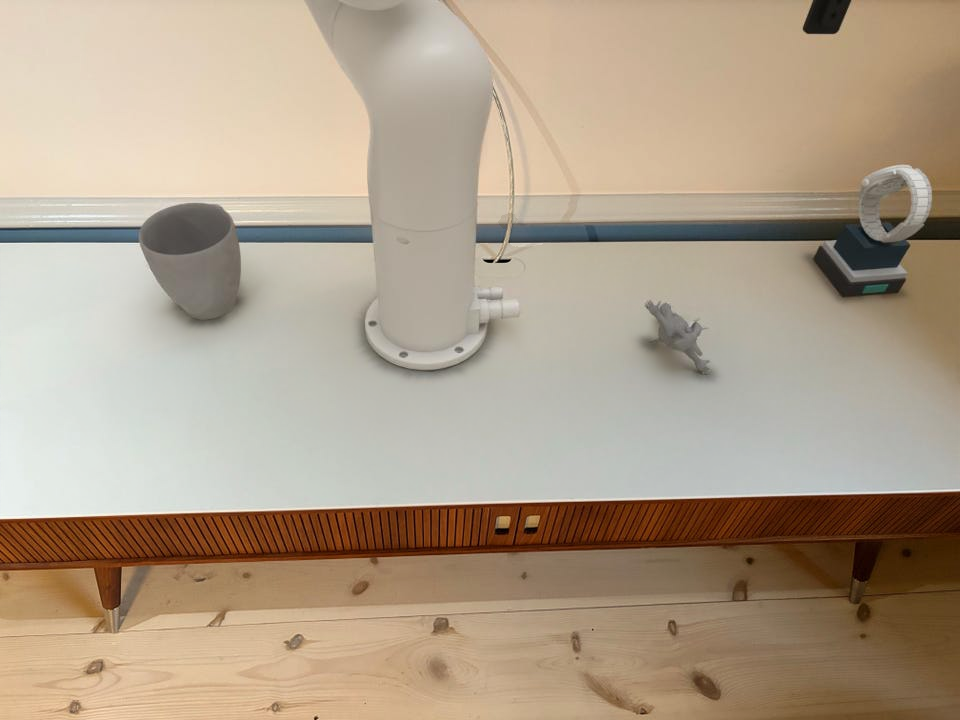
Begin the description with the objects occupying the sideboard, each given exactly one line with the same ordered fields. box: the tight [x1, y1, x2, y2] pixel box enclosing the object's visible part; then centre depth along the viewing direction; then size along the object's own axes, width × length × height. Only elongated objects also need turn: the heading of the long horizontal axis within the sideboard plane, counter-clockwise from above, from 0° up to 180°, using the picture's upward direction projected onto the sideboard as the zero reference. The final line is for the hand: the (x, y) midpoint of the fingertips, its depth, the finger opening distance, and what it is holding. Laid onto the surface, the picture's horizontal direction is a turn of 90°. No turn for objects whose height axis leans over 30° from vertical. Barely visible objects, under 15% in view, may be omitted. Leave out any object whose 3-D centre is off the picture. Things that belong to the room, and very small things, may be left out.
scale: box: [812, 239, 908, 298], centre depth 81 cm, size 7×7×3 cm
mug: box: [138, 202, 242, 321], centre depth 72 cm, size 12×9×10 cm
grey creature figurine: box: [644, 299, 712, 375], centre depth 70 cm, size 10×6×9 cm
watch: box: [834, 164, 933, 271], centre depth 76 cm, size 6×8×11 cm
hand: (794, 11), depth 64 cm, fingers open, 9 cm apart
